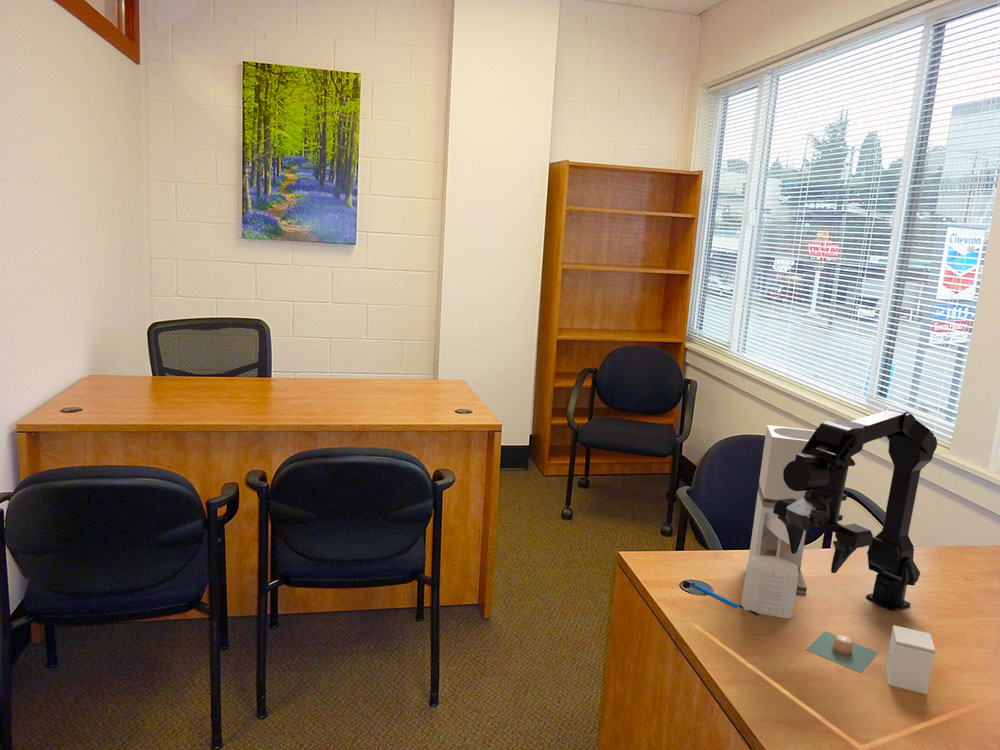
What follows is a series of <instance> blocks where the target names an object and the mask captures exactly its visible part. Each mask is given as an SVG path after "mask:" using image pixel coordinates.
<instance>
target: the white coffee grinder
mask: <svg viewBox="0 0 1000 750" xmlns="http://www.w3.org/2000/svg"><path fill="white" fill-rule="evenodd" d="M815 431H816V429H807V428H798V427H789V426H781V425H780V426H779V425H772V424H771V425H769V424H766V430H765V436H764V437H765V438H764V442H763V443H764V444H763V451H762V457H761V458H762V460H761V466H760V474H759V480H758V487H757V496H756V503H755V511H754V518H753V524H752V525H753V526H752V534H751V540H750V547H749V555H748V562H749V560H750V557H751V556H773V557H778V558H782V559H785V560H788V561H790V562H792V563H794V564H796V565H797V567H798V572H799V579H798V585H797V591H796V595H800V594H802V595H807V591H808V590H807V589H808V587H807V584H806V581H805V579H804V575H803V572H802V570H801V568H802V561H803V555H804V547H805V541H806V534H807V530H804V532H803V535H802V539H801V542H800V545H799V548H798V550H797V553H796V554H792V553H791V548H790V542H789V537H788V532H787V529H786V526H785V524H784V523H783V522H782V521H781V520H780V519H778V516H779V515H777V514H775V513H773V508H774V504H775V503H776V502H777V501H778V500H781V499H790V498H793V499H796V500H801V499H803V498H804V496H805V492H806V491H793V490H791V489H790V488H789V487H788V486H787V485H786V483H785V481H784V478H783V471H784V468H785V467H786V465H787V464H788V463H789V462H791V461H795V458H796V455H797V454H802V455H806V454H803V453H802V450H803V448H804V447H805V445H806V444H807V442H808V441H809V439H810V438H811V437H812V435H813V434H814V432H815ZM817 449H819V448H817ZM819 450H821V449H819ZM822 451H824V450H822ZM825 452H827V451H825ZM748 562H747V563H748Z"/></svg>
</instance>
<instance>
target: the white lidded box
mask: <svg viewBox="0 0 1000 750" xmlns="http://www.w3.org/2000/svg"><path fill="white" fill-rule="evenodd" d="M935 654H936V648H935V644H934V642H933V638H932V633H929V632H926V631H925V632H924V631H920V630H917V629H911V628H907V627H903V626H898V625H892V629H891V636H890V640H889V646H888V652H887V655H886V657H887V658H886V663H885V671H886V672H885V673H886V679H887V684H888V686H892V687H896V688H900V689H905V690H909V691H911V692H916V693H920V694H924V695H927V694H928V690H929V685H930V679H931V674H932V670H933V664H934V660H935Z"/></svg>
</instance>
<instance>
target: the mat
mask: <svg viewBox="0 0 1000 750" xmlns="http://www.w3.org/2000/svg"><path fill="white" fill-rule="evenodd" d="M835 635H836V634H833V633H831V632H828V631H826V630H825V631H823V632H822V633H821V634H820V635H819V636H818V637H817V638H816V639H815V640H814V641H813V642H812V643H811V644H810V645H809V646H807V647H806V649H805V651H808V652H810V653H812V654H814V655H816V656H819V657H821V658H824V659H826V660H828V661H831V662H834V663H835V664H838V665H841V666H843V667H846V668H848V669H850V670H853V671H855V672H857V673H860V674H862V673H863V672H864V670H865V669H866V668H867V667H868V666H869V665H870V664H871V662H872V661H873V660H874V658H875V657H876V656H877V655H878V653H879V652H878V651H876V650H874V649H871V648H869V647H866V646H864V645H862V644H860V643H856V642H854V645H853V651H852V655H850V656H843V655H839V654H837V653H836V652H834V651H833V649H832V648H833V642H834V636H835Z"/></svg>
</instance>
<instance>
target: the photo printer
mask: <svg viewBox="0 0 1000 750" xmlns="http://www.w3.org/2000/svg"><path fill="white" fill-rule="evenodd" d="M748 561H749V562H747V564H746V568H745V569H746V570H745V574H744V575H745V576H744V583H743V587H742V594H741V600H740V601H741V603H740V605H741V606H742V607H743V608H742V607H741V608H742V609H743V610H744V611H747V612H749V611H748V610H751V611H753V612H755V613H757V614H759V615H760V614H762V615H766V616H770V617H777V618H781V619H791V618H792V617H793V615H794V614H793V613H794V608H795V607H794V606H795V602H796V597H797V594H796V591H797V585H798V579H799V572H798V567H797V565H796V564H794V563H792V562H790V561H788V560H785V559H782V558H778V557H773V556H751V557H750V560H749V559H748Z"/></svg>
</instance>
